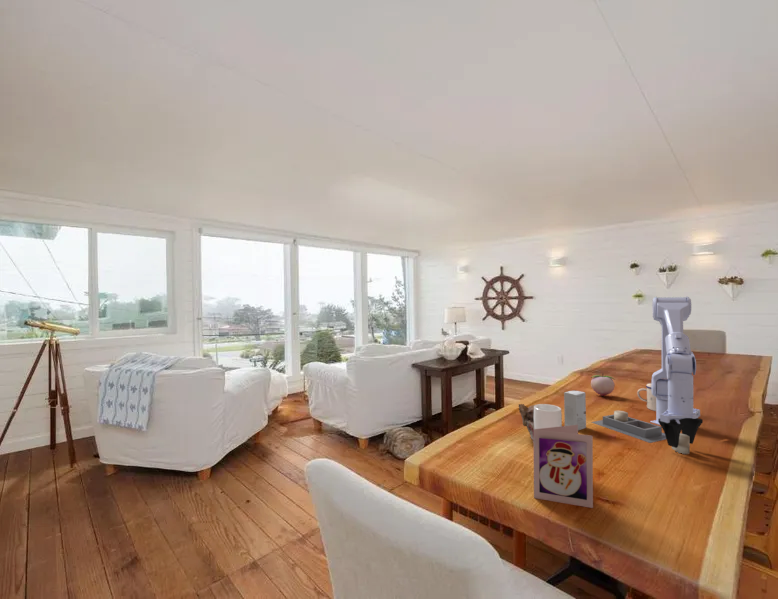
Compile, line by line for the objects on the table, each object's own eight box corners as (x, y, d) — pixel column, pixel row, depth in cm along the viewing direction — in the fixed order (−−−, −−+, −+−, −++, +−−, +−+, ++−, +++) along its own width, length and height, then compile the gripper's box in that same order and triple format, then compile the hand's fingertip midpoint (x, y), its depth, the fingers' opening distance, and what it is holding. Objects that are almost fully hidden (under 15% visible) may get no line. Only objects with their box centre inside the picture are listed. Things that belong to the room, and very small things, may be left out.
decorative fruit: (595, 398, 161) (595, 375, 161) (588, 393, 169) (588, 371, 169) (618, 399, 160) (618, 375, 160) (610, 394, 168) (610, 371, 168)
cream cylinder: (677, 447, 109) (677, 432, 108) (692, 452, 105) (692, 436, 105) (668, 449, 107) (668, 434, 107) (683, 455, 103) (683, 438, 103)
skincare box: (576, 432, 121) (576, 395, 121) (563, 428, 125) (563, 392, 125) (586, 428, 124) (586, 392, 124) (573, 425, 128) (573, 389, 128)
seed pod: (528, 407, 126) (506, 401, 117) (578, 406, 115) (558, 399, 106) (531, 449, 121) (508, 447, 112) (584, 452, 110) (563, 450, 101)
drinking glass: (559, 473, 93) (559, 412, 93) (531, 466, 97) (531, 408, 97) (563, 462, 99) (563, 406, 99) (536, 457, 103) (536, 402, 102)
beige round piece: (619, 423, 128) (619, 410, 128) (630, 426, 124) (630, 413, 124) (611, 424, 127) (611, 411, 127) (622, 428, 123) (622, 414, 123)
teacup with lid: (675, 408, 146) (675, 378, 146) (675, 414, 139) (674, 383, 139) (638, 403, 153) (638, 375, 153) (636, 408, 146) (636, 378, 146)
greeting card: (533, 499, 81) (533, 430, 81) (533, 483, 88) (533, 420, 88) (593, 510, 77) (593, 437, 77) (588, 492, 84) (588, 425, 84)
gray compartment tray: (615, 419, 134) (615, 410, 134) (675, 438, 115) (675, 428, 115) (590, 423, 129) (590, 414, 129) (650, 444, 111) (650, 434, 111)
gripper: (679, 402, 99) (679, 453, 99) (712, 397, 105) (712, 445, 105) (652, 396, 106) (652, 444, 106) (684, 391, 111) (684, 436, 111)
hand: (680, 444), depth 106 cm, fingers open, 6 cm apart
